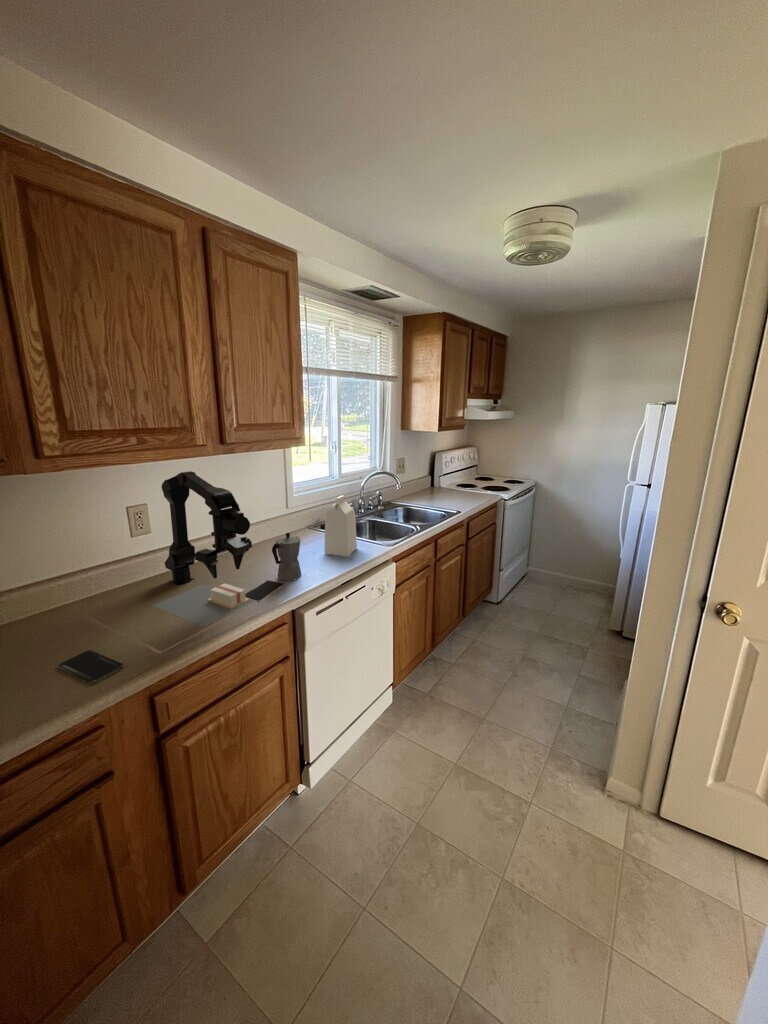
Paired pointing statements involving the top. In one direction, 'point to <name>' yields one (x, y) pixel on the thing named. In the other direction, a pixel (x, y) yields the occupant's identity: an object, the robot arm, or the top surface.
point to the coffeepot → (287, 557)
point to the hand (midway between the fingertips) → (226, 573)
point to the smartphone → (264, 590)
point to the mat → (199, 606)
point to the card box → (228, 594)
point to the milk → (340, 529)
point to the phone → (90, 666)
